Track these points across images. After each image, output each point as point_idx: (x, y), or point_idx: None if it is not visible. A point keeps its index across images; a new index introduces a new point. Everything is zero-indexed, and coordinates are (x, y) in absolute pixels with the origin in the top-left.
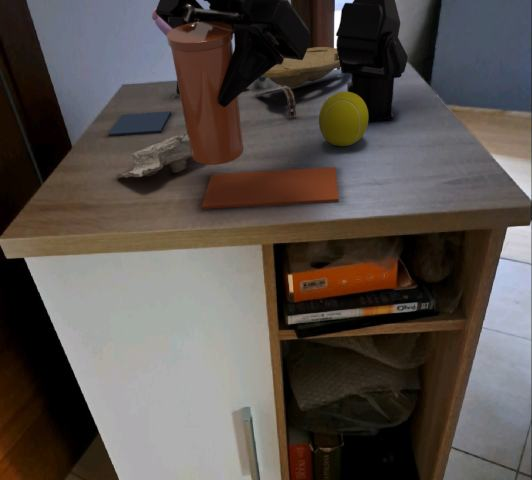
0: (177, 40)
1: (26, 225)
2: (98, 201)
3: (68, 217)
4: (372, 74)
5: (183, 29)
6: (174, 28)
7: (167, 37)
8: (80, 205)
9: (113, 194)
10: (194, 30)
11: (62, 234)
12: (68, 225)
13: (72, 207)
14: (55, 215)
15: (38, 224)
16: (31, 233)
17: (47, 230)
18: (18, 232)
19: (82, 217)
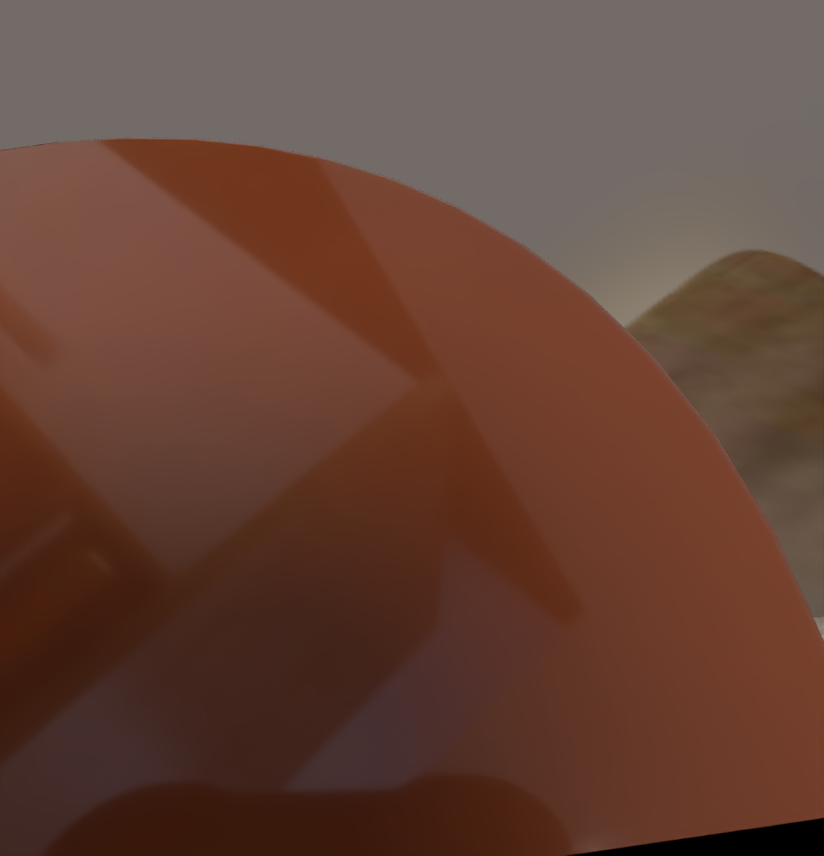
0: (66, 171)
1: (793, 288)
2: (794, 495)
3: (747, 377)
4: None
5: (440, 605)
6: (745, 516)
7: (370, 175)
8: (811, 441)
9: (814, 564)
10: (43, 717)
11: (646, 321)
12: (690, 354)
13: (816, 418)
14: (796, 361)
15: (772, 308)
16: (727, 277)
17: (709, 307)
18: (764, 260)
19: (709, 402)
